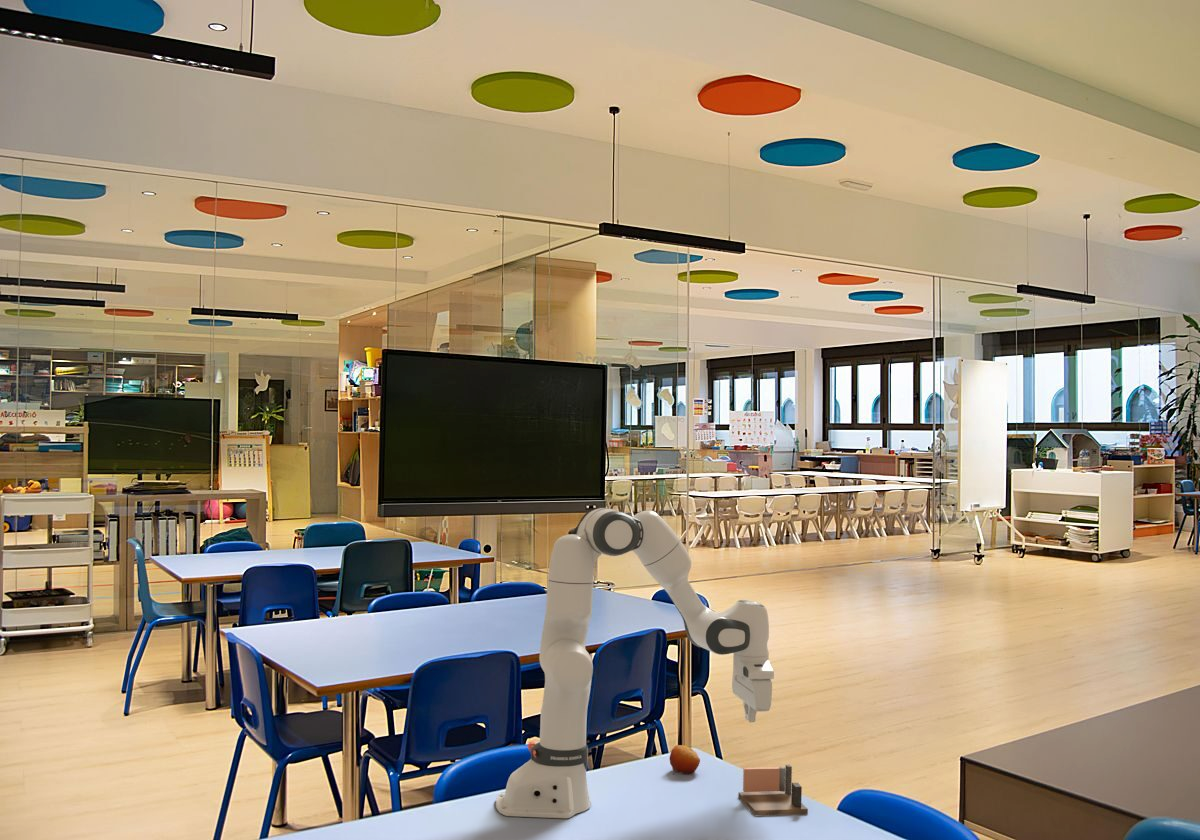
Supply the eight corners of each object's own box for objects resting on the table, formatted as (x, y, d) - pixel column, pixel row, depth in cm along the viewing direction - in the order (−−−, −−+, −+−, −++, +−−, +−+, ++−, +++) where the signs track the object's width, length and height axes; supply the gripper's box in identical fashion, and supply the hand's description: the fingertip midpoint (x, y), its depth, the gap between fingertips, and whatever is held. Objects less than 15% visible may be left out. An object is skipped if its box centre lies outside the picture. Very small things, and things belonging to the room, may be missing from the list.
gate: (744, 792, 235) (745, 769, 235) (742, 790, 236) (743, 767, 237) (785, 791, 236) (786, 768, 237) (783, 789, 238) (784, 766, 238)
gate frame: (755, 815, 225) (755, 780, 225) (738, 797, 237) (739, 764, 237) (807, 814, 227) (808, 779, 227) (788, 795, 239) (789, 763, 240)
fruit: (660, 762, 259) (675, 736, 260) (684, 777, 259) (699, 751, 260) (665, 771, 251) (681, 745, 252) (690, 787, 251) (706, 761, 252)
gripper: (726, 657, 252) (725, 710, 251) (751, 674, 232) (751, 732, 231) (749, 657, 253) (748, 710, 253) (776, 673, 233) (776, 731, 232)
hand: (750, 720), depth 242 cm, fingers closed
